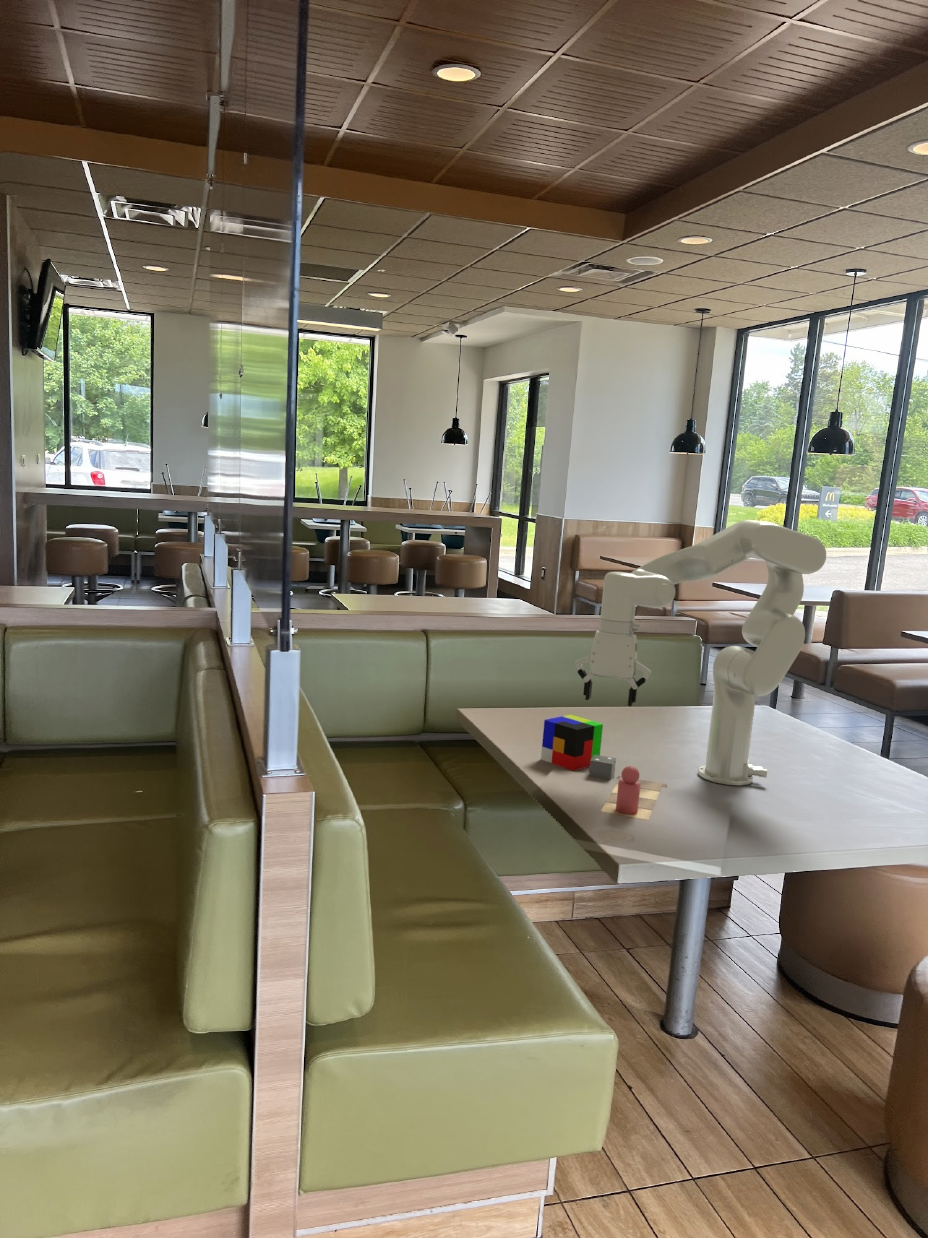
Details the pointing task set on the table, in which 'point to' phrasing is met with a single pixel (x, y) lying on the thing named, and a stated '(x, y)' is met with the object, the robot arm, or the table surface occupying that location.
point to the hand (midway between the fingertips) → (609, 702)
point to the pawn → (628, 791)
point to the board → (642, 802)
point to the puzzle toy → (571, 741)
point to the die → (602, 767)
